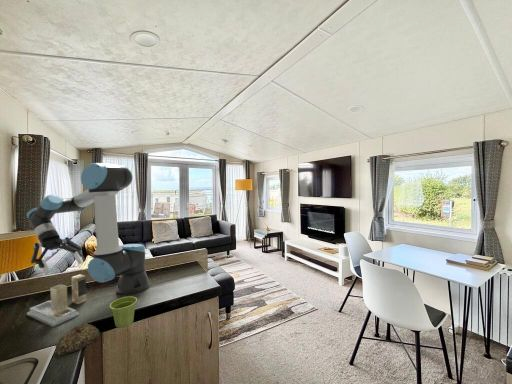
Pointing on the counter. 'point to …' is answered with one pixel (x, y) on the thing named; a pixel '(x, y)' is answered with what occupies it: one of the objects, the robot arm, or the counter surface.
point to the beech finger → (78, 289)
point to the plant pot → (123, 311)
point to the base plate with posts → (54, 308)
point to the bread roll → (77, 339)
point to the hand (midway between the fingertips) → (65, 267)
